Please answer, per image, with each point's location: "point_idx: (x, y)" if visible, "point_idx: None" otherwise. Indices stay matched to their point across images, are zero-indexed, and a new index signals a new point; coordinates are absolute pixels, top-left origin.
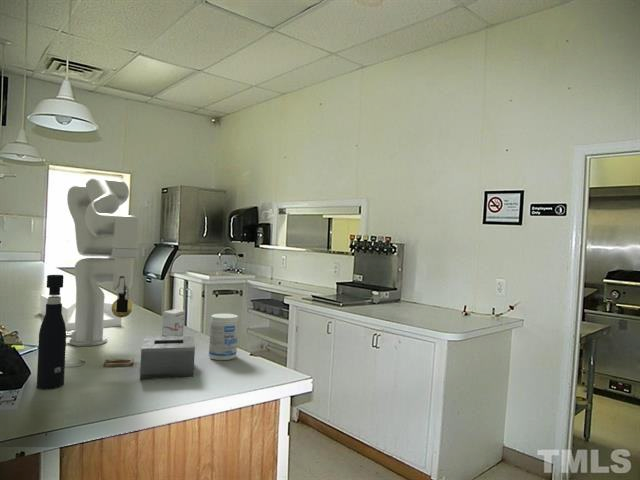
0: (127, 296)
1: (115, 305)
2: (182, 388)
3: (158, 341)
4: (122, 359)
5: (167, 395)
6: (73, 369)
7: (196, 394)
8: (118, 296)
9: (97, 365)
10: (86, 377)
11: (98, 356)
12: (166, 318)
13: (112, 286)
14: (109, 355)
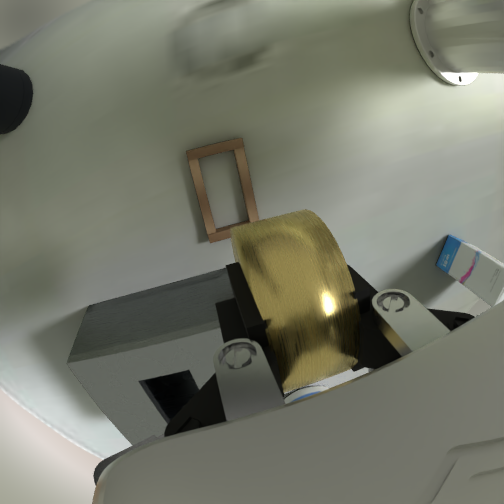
0: (371, 370)
1: (246, 275)
2: (73, 392)
3: (192, 375)
4: (252, 193)
5: (32, 376)
6: (149, 69)
7: (59, 411)
8: (218, 387)
9: (202, 124)
10: (73, 153)
11: (313, 89)
12: (492, 276)
13: (106, 500)
14: (327, 121)
